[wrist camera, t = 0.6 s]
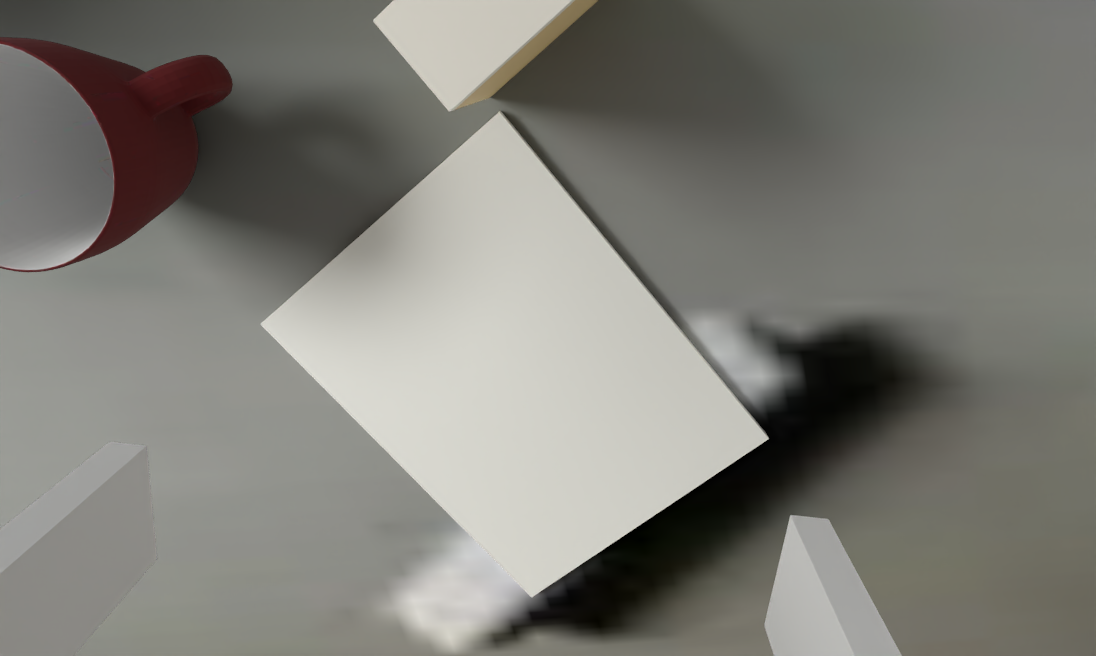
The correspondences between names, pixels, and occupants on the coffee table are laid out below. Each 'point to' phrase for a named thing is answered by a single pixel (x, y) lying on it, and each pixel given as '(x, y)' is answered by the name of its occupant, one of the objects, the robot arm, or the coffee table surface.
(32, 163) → the mug
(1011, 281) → the coffee table surface
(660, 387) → the mat
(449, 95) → the slab
